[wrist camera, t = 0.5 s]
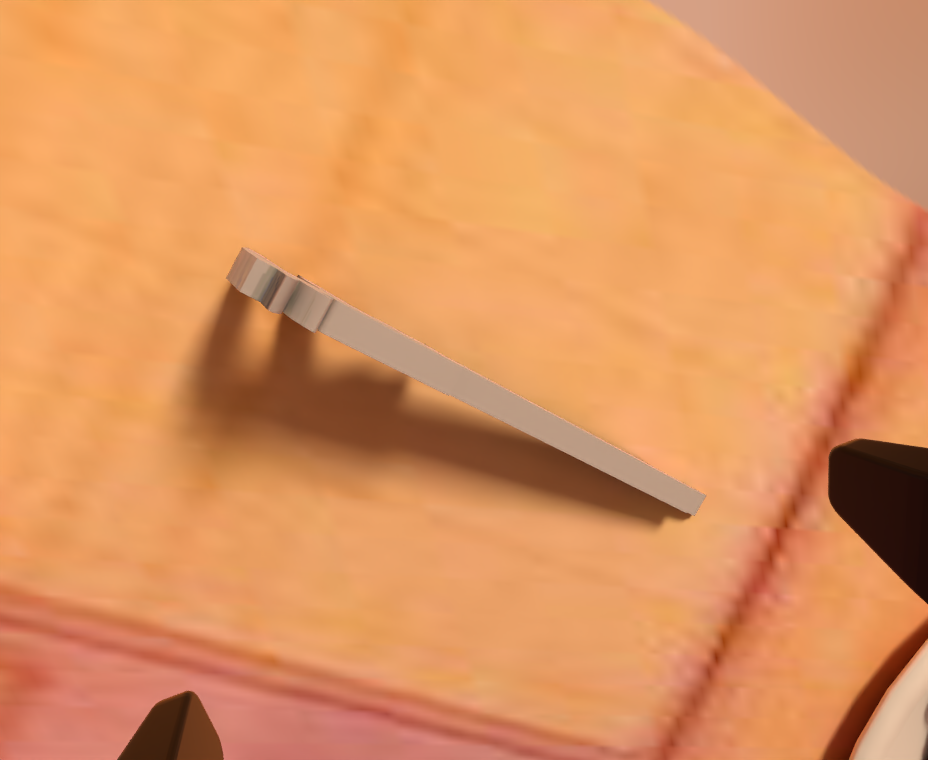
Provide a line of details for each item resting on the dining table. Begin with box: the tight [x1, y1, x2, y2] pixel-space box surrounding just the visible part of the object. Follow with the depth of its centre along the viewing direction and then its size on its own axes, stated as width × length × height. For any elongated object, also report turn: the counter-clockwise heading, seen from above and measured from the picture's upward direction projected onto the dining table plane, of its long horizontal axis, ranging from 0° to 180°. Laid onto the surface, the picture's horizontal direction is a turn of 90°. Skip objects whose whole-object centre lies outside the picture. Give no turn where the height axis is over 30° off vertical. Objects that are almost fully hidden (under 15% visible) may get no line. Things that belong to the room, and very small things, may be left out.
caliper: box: [226, 248, 706, 516], centre depth 22 cm, size 21×1×6 cm, turn 61°
